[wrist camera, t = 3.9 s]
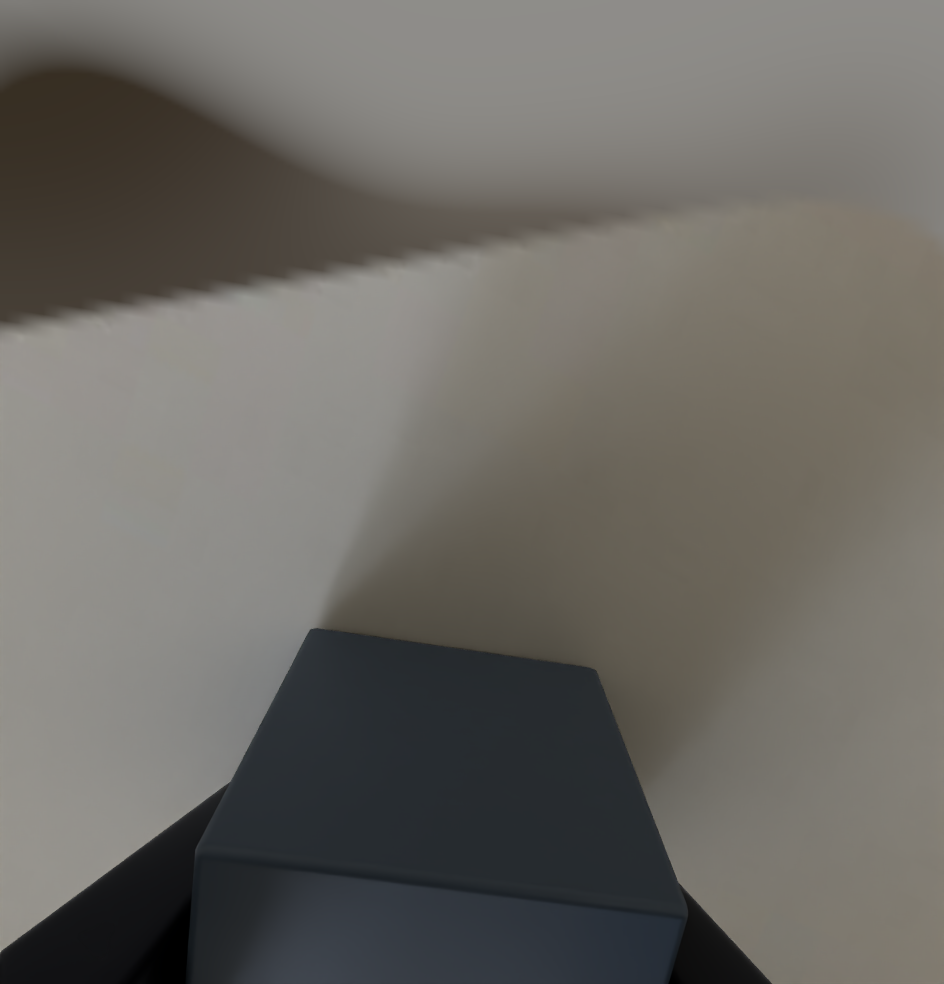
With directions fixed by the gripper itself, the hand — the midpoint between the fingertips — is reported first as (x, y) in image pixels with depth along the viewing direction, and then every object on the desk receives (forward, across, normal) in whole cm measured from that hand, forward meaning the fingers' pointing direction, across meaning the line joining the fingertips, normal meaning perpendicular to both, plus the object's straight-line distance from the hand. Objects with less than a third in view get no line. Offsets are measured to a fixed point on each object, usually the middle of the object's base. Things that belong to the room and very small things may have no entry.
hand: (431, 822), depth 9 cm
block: (+1, 0, 0) cm, 1 cm away
